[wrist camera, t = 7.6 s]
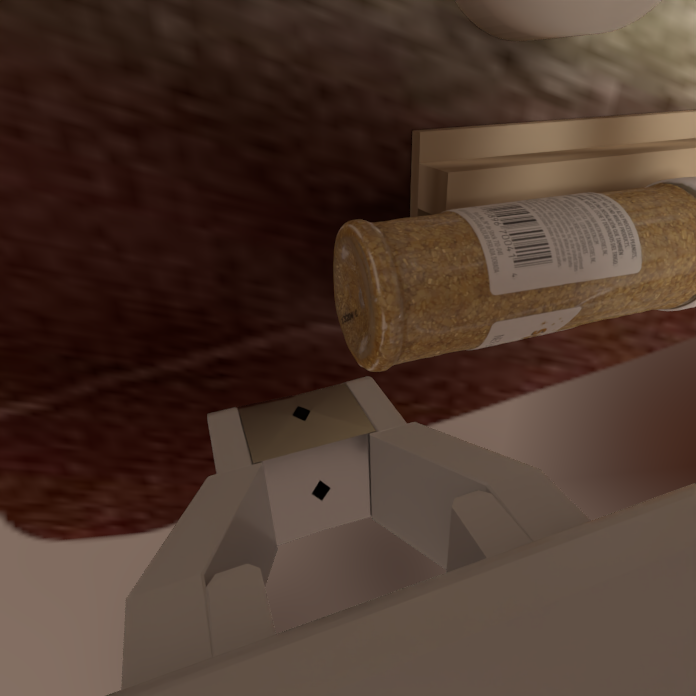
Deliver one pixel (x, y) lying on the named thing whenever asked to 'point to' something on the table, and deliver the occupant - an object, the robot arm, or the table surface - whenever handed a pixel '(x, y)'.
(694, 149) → the u rest
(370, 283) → the sprinkles bottle
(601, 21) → the cream dish
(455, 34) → the table surface
